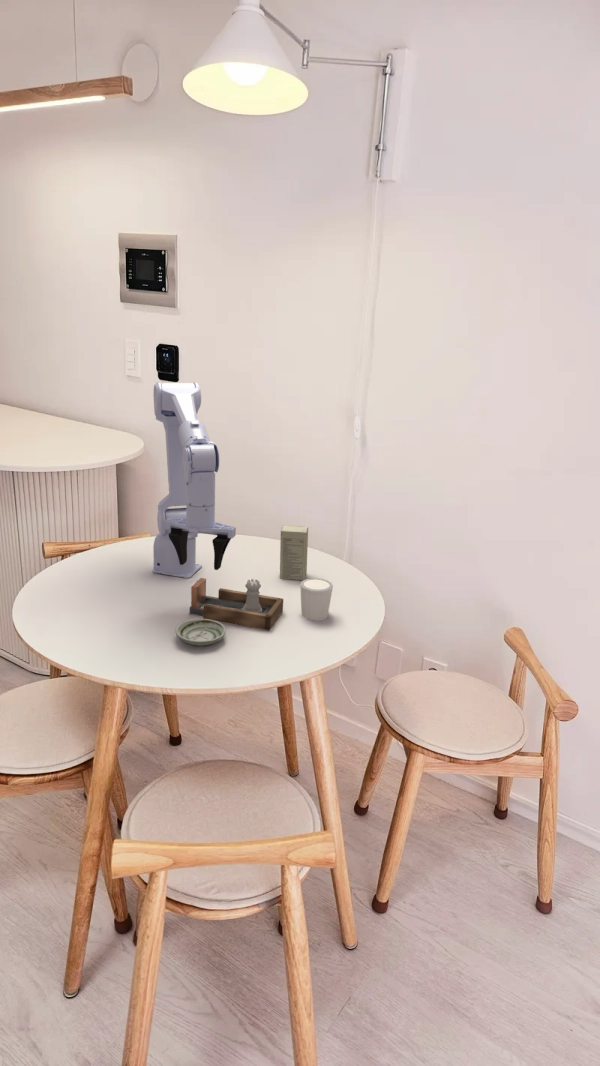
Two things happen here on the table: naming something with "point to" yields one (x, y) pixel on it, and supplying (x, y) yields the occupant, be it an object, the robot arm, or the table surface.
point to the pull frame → (212, 599)
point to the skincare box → (293, 552)
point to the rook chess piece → (252, 597)
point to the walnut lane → (241, 615)
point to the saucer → (200, 631)
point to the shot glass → (315, 598)
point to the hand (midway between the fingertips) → (200, 565)
